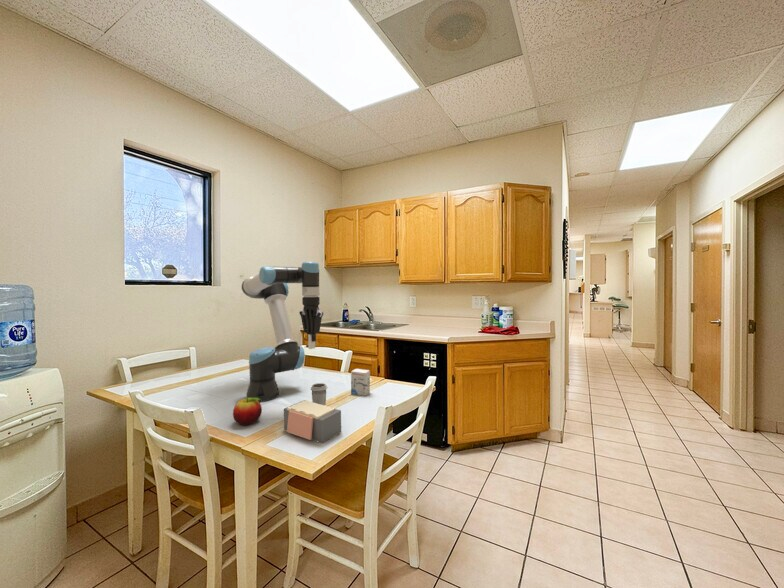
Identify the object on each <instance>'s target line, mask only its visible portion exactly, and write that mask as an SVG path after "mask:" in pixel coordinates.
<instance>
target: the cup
mask: <svg viewBox="0 0 784 588" xmlns="http://www.w3.org/2000/svg"><path fill="white" fill-rule="evenodd" d="M327 389H328V386H327V384H326V383H324V382H318V383H313V384H312V385H311V387H310V391H311V400H312V401H311V402H313V403H317V404H321V405H325V406H326V405H327Z"/></svg>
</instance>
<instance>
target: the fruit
mask: <svg viewBox="0 0 784 588" xmlns="http://www.w3.org/2000/svg"><path fill="white" fill-rule="evenodd" d="M257 400H261V399H259V398H256V397H255V398H249V397H247V399H246V398H243V399H240V400H238V402H237V403H236V405H235V406H234V408H233V410H232V416H233V420H234V422H236V423H237V424H239V425H240V426H250V425H253V424H254V423H256V422H257V421H259V419H260V418H261V415H262V413H263V411H262V410H263V408H262V404H261V403H260V402H258V401H257ZM249 424H250V425H249Z"/></svg>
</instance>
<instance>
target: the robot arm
mask: <svg viewBox="0 0 784 588" xmlns="http://www.w3.org/2000/svg"><path fill="white" fill-rule="evenodd" d="M259 269H260V270H259V271H258V274H256V275H255V276H249V277H247V278H244V280H243V281H242V284H241V290H242V292H243V294H244V295H246V297H249V298H251V299H256V300H257V299H260V300H261V299H263V300H264V303H265V304H266V305H268V308H269V314H270V317H271V318H270V319H271V323H272V327H273V332H274V336H275V341H276V345H275V346H274V347H272V346H270V347H269V346H268V347H261V348H257V349H255V350H253V351H252V352H250V353H249V358H248V365H249V368H248V369H249V384H248V388H247V391H246V393H245V397H246V398H245V399H247V397H249V398H255V397H256V398H259V399H261V400H257V401H258V402H259V403H260V402H266V401H271V400H274V399H276V398H277V397H279V396H280V389H279V386H278V384H277V381H276V374H278V373H284V372H289V371H295V370H298V369H300V368H302V367H303V365H304V363H305V349H304V348H303V346H301V345H299V344H298V341H296V340H294V335H293V332H292V327H291V323H290V318H289V315H288V311H287V306H286V303H285V301H286V300H287V297H288V296H289V285H288V284H301V289H302V290H301V291H302V292H301V293H302V295H301V296H303V297H302V298H301V299H302V305H303V308H302V310H300V311H299V315H300V318H301V319H300V320H301V325H302V330H303V333H305V334H306V335H307V343H308V349H309V350H313V349H316V340H317V334H318V333H320V331H321V326H322V325H321V324H322V319H323V316H324V311H322V312H321V310H320V308H319V305H320V304H321V303H320V266H319V263H318V261H317V262H316V261H303V262H301V266H270V265H268V266H262V267H260V268H259Z"/></svg>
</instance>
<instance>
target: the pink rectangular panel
mask: <svg viewBox="0 0 784 588" xmlns="http://www.w3.org/2000/svg"><path fill="white" fill-rule="evenodd" d="M312 428H313V417H309V416H306V415H303V414H299V413H296V412H293V411H289V415H288V425H287V431H286V433H289V434H292V435H295V436H297V437H301V438H304V439H306V440H309V441H311V440H312Z"/></svg>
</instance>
